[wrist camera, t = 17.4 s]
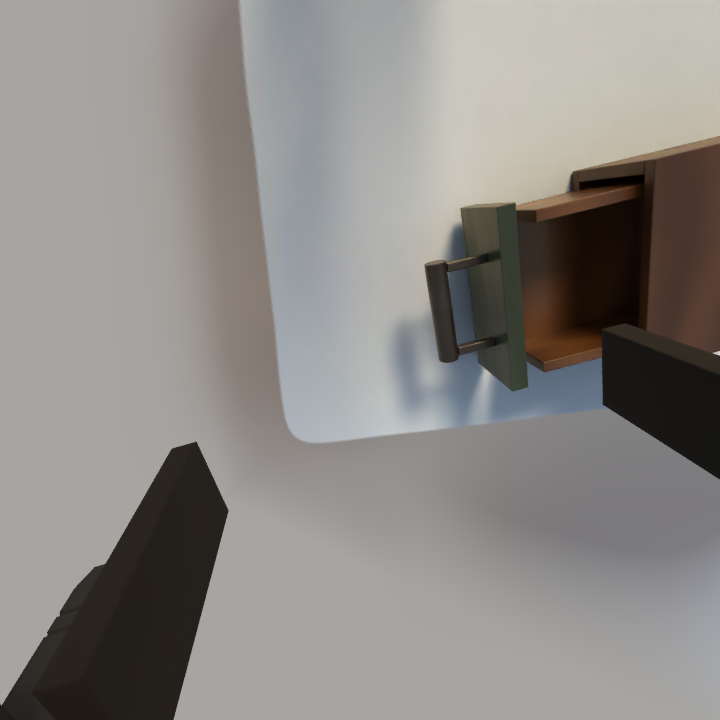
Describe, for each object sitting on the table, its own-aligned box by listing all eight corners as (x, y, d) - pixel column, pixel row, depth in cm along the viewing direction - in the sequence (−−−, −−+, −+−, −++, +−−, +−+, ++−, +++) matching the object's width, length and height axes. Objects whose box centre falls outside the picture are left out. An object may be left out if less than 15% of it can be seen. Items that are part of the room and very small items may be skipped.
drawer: (430, 375, 33) (455, 407, 28) (404, 221, 28) (428, 223, 23) (629, 323, 34) (690, 344, 28) (634, 166, 29) (709, 155, 24)
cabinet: (575, 339, 35) (644, 371, 28) (571, 171, 30) (655, 158, 23) (729, 299, 35) (835, 320, 28) (751, 128, 30) (886, 102, 23)
